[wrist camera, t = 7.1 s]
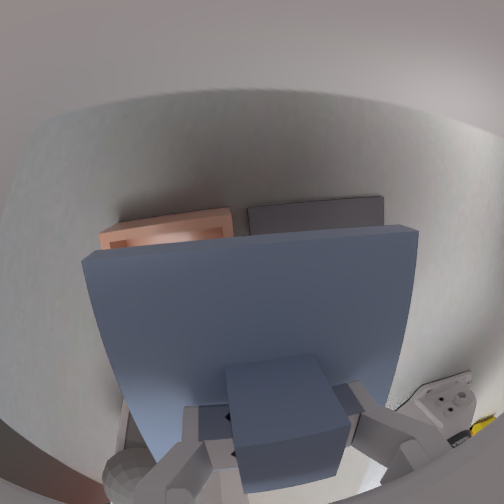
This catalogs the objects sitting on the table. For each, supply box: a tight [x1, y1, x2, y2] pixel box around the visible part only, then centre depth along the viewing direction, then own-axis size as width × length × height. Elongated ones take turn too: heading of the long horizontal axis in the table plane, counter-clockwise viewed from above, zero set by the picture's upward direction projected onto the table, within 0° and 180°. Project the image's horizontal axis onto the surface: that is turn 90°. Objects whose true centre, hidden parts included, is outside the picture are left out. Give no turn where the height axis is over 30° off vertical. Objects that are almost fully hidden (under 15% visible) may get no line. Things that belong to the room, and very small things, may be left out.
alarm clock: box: [102, 399, 203, 504], centre depth 20 cm, size 16×9×22 cm, turn 157°
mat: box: [247, 196, 384, 236], centre depth 28 cm, size 14×12×1 cm
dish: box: [99, 207, 234, 250], centre depth 24 cm, size 11×11×5 cm
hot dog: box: [470, 417, 496, 436], centre depth 48 cm, size 18×7×8 cm
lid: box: [81, 225, 419, 494], centre depth 8 cm, size 11×11×5 cm
